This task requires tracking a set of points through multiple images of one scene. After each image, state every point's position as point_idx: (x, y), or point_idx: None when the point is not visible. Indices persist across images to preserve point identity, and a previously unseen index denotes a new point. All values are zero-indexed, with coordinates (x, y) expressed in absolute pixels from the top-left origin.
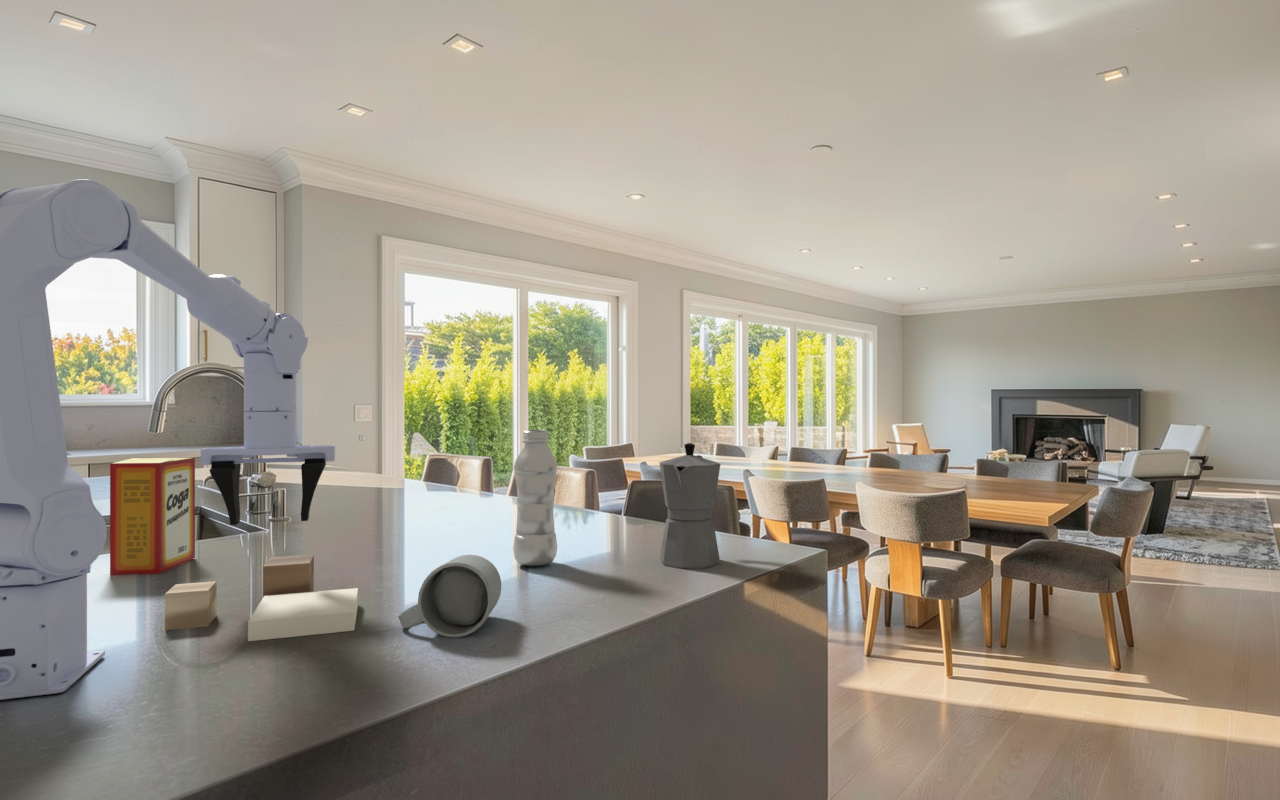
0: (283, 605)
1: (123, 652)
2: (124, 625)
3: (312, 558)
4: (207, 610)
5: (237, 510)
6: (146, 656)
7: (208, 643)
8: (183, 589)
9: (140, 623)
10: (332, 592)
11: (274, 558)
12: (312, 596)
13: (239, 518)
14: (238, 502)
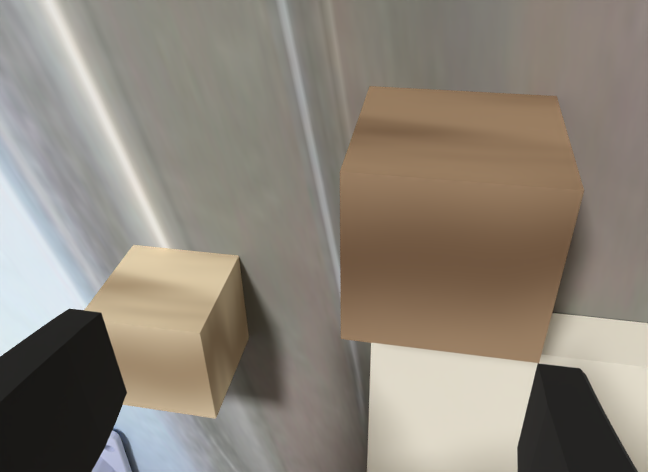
0: (439, 440)
1: (140, 419)
2: (23, 246)
3: (565, 255)
4: (234, 371)
5: (67, 434)
6: (196, 454)
7: (290, 441)
8: (138, 384)
9: (55, 245)
10: (602, 386)
11: (368, 205)
12: (528, 400)
13: (91, 341)
14: (9, 433)
